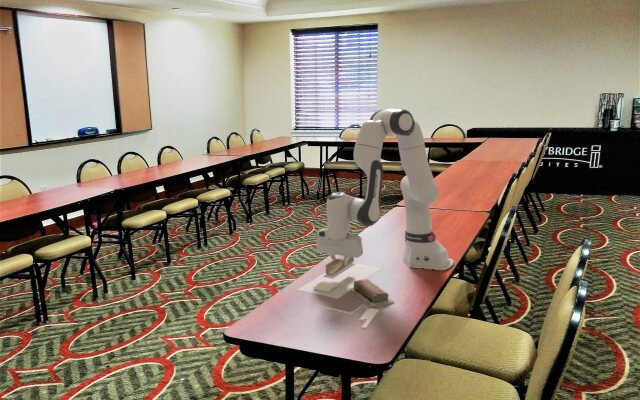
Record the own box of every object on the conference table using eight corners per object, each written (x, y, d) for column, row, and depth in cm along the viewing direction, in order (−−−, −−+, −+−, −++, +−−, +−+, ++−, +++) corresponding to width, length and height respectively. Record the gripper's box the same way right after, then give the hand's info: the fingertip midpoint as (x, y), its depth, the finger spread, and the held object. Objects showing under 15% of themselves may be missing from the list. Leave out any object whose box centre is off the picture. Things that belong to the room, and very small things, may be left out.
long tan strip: (353, 261, 222) (353, 252, 221) (332, 275, 207) (331, 266, 206) (347, 260, 223) (347, 251, 222) (325, 274, 208) (325, 265, 208)
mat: (381, 268, 228) (381, 267, 228) (337, 299, 197) (337, 298, 197) (344, 262, 239) (344, 261, 238) (296, 290, 207) (296, 289, 207)
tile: (339, 283, 209) (328, 289, 203) (339, 286, 210) (328, 292, 203) (324, 280, 213) (313, 286, 206) (324, 282, 213) (313, 289, 207)
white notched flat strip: (351, 327, 175) (351, 324, 175) (365, 310, 189) (365, 307, 189) (366, 329, 173) (365, 326, 173) (379, 311, 187) (379, 309, 187)
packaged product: (348, 280, 204) (371, 276, 208) (348, 292, 205) (371, 287, 209) (370, 297, 188) (394, 292, 192) (370, 309, 189) (394, 304, 193)
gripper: (364, 232, 209) (366, 265, 212) (321, 227, 220) (323, 258, 223) (357, 237, 204) (358, 270, 207) (313, 231, 214) (315, 263, 217)
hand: (340, 264), depth 215 cm, fingers closed on long tan strip, 3 cm apart
